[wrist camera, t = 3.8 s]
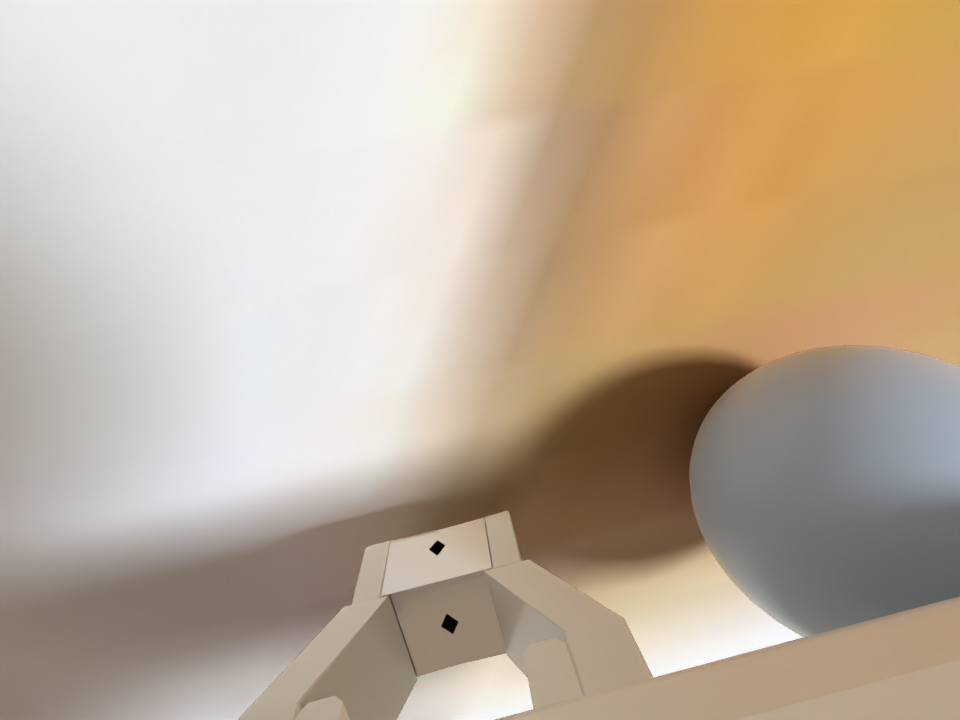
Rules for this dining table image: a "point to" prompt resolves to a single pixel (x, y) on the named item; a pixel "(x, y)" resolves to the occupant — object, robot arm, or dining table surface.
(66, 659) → the dining table surface
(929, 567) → the blue ball
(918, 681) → the robot arm
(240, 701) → the dining table surface
